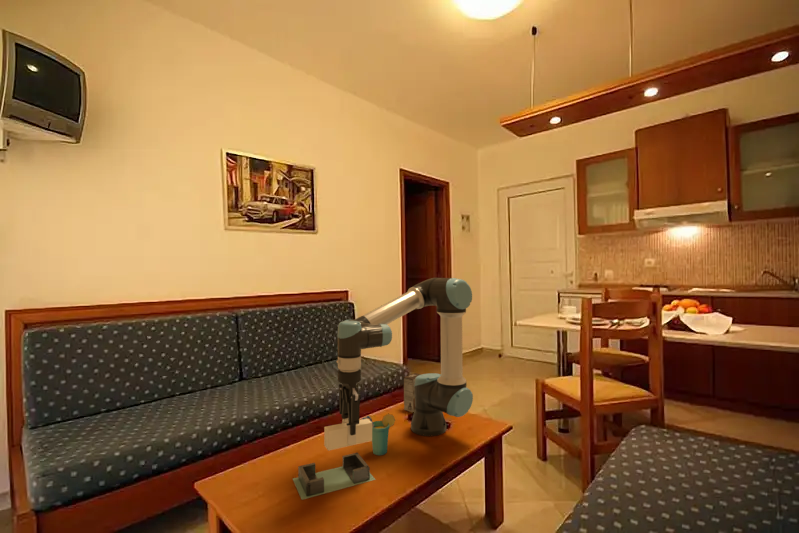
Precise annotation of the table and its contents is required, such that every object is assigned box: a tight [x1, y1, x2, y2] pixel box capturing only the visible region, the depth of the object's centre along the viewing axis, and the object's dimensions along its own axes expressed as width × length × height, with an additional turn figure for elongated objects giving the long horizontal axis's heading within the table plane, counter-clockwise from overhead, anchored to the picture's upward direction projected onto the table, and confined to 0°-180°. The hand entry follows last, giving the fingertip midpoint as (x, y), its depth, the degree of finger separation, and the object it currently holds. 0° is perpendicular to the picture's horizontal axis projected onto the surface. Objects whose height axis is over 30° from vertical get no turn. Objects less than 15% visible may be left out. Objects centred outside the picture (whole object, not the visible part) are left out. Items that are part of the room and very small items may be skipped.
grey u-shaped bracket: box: [342, 452, 371, 484], centre depth 133 cm, size 5×11×4 cm, turn 27°
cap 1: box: [297, 462, 324, 497], centre depth 126 cm, size 5×11×4 cm, turn 27°
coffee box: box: [403, 372, 422, 413], centre depth 192 cm, size 9×6×16 cm
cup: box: [359, 412, 396, 456], centre depth 147 cm, size 14×8×15 cm, turn 123°
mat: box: [292, 465, 376, 501], centre depth 129 cm, size 24×13×1 cm, turn 117°
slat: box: [323, 418, 372, 451], centre depth 128 cm, size 15×4×6 cm, turn 119°
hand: (349, 440), depth 128 cm, fingers closed on slat, 4 cm apart
